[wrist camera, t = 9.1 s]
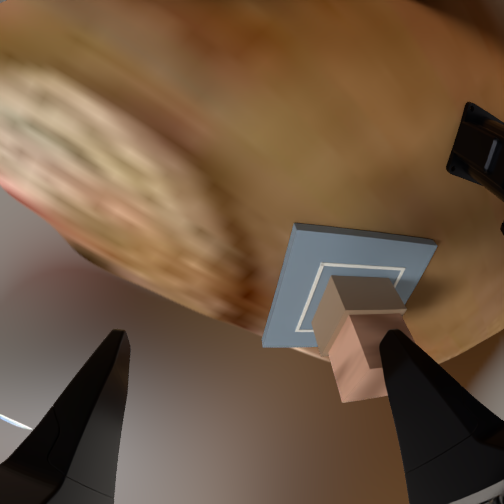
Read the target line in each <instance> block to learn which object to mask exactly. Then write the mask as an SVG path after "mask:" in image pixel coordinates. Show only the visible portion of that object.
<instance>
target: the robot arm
mask: <svg viewBox="0 0 504 504" xmlns="http://www.w3.org/2000/svg"><path fill="white" fill-rule="evenodd" d="M470 107H471V109H470ZM452 166H453V167H452ZM451 168H452V169H451ZM446 170H447V171H448V172H449V173H450V174H452V175H455V176H458V177H461V178H463V179H466V180H469V181H471V182H474V183H477V184H479V185H482V186H484V187H485V188H487V189H488V190H489V191H490V192H492V193H493V194H494V195H496V196H497V197H498V198H499V199H500V200H502V201H503V202H504V123H503V122H502V121H500V120H499V119H497V118H496V117H494V116H493V115H491V114H490V113H488V112H487V111H485V110H483V109H482V108H480V107H479V106H477V105H475V104H474V103H471V102H467V103H466V105H465V108H464V112H463V115H462V119H461V122H460V126H459V129H458V132H457V136H456V139H455V142H454V145H453V148H452V151H451V154H450V157H449V160H448V163H447V166H446ZM500 230H501V231H502V233H503V235H504V222H503V223H502V225H501V229H500ZM379 351H380V357H381V363H382V369H383V375H384V381H385V386H386V390H387V394H388V397H389V402H390V406H391V409H392V414H393V418H394V422H395V427H396V431H397V435H398V440H399V445H400V450H401V455H402V460H403V466H404V471H405V478H406V484H407V490H408V497H409V504H504V421H503V420H501V419H500V418H499V417H498V416H496V415H495V414H494V413H492V412H491V411H490V410H489V409H488V408H486V407H485V406H484V405H483V404H481V403H480V402H479V401H478V400H477V399H475V398H474V397H473V396H472V395H471V394H470V393H469V392H468V391H467V390H466V389H465V388H464V387H462V386H461V385H460V384H459V383H458V382H457V381H456V380H455V379H454V378H453V377H451V375H450V374H448V373H447V372H446V371H445V370H444V369H443V368H442V367H441V366H440V365H439V364H438V363H437V362H435V361H434V360H433V359H432V358H431V357H430V356H429V355H428V354H427V353H426V352H424V351H423V350H422V349H421V348H420V347H419V346H418V345H417V344H415V343H414V342H413V341H412V340H411V339H410V338H409V337H408V336H407V335H405V334H404V333H403V332H402V331H401V330H399V329H390V330H388V331H387V333H386V334H385V336H384V337H383V339H382V340H381V342H380V344H379ZM130 352H131V349H130V343H129V340H128V336H127V333H126V331H125V330H121V329H113V330H112V331H111V332H110V333H109V334H108V336H107V337H106V338H105V339H104V340H103V342H102V343H101V344H100V345H99V347H98V348H97V349H96V350H95V352H94V353H93V354H92V355H91V357H90V358H89V359H88V360H87V362H86V363H85V364H84V366H83V367H82V368H81V369H80V370H79V372H78V373H77V374H76V375H75V377H74V378H73V379H72V381H71V382H70V383H69V385H68V386H67V387H66V389H65V390H64V391H63V393H62V394H61V395H60V396H59V398H58V399H57V400H56V402H55V403H54V405H53V406H52V407H51V408H50V410H49V411H48V412H47V414H46V415H45V416H44V418H43V419H42V420H41V422H40V423H39V424H38V425H37V426H36V428H35V429H34V430H33V431H32V432H31V434H30V435H29V436H28V437H27V438H26V439H25V440H24V441H23V442H22V443H21V444H20V445H19V447H18V448H17V449H16V450H15V451H14V452H13V453H12V454H11V455H10V456H9V458H8V459H6V460H5V461H4V462H2V463H1V464H0V504H114V492H115V481H116V471H117V461H118V453H119V445H120V438H121V431H122V424H123V418H124V411H125V405H126V399H127V392H128V378H129V363H130Z"/></svg>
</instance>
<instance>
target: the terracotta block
mask: <svg viewBox="0 0 504 504" xmlns="http://www.w3.org/2000/svg"><path fill="white" fill-rule="evenodd" d="M390 329H399V330H401V331H402V332H403V333H404V334H405V335H407V336H408V337H409V338H410V339H411V340H412V341H413V342H414V343H415V341H414V339H413V337H412V335H411V333H410V331H409V330H408V328H407V326H406V324H405V322H404V320H403V318H402V316H401V314H400V313H395V314H363V315H349V316H348V318H347V320H346V321H345V323H344V325H343V327H342V329H341V331H340V333H339V335H338V336H337V338H336V340H335V342H334V344H333V345H332V347H331V349H330V351H329V352H328V354H329V358H330V361H331V364H332V368H333V372H334V375H335V378H336V382H337V386H338V389H339V392H340V396H341V400H342V402H350V401H358V400H364V399H370V398H376V397H381V396H387V395H388V394H387V390H386V386H385V381H384V375H383V369H382V363H381V357H380V351H379V344H380V342H381V340H382V339H383V337H384V336H385V334H386V333H387V331H388V330H390ZM415 344H416V343H415Z"/></svg>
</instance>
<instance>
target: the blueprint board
mask: <svg viewBox="0 0 504 504" xmlns="http://www.w3.org/2000/svg"><path fill="white" fill-rule="evenodd" d="M436 248H437V245H436V243H435V242H434V241H433V240H432V239H424V238H417V237H410V236H403V235H395V234H387V233H379V232H371V231H363V230H355V229H346V228H338V227H329V226H319V225H310V224H301V223H294V225H293V229H292V232H291V236H290V240H289V244H288V248H287V251H286V255H285V259H284V263H283V266H282V270H281V274H280V277H279V281H278V285H277V288H276V292H275V295H274V299H273V303H272V306H271V310H270V313H269V317H268V320H267V324H266V327H265V330H264V334H263V337H262V344H263V347H318V349H319V352H320V356H321V357H322V356H329V354H328V352H329V351H330V349H331V347H332V345H333V344H334V342H335V340H336V338H337V336H338V335H339V333H340V331H341V329H342V327H343V325H344V323H345V321H346V320H347V318H348V316H349V315H363V314H395V313H400V314H401V316H403V314H404V313H405V311H406V310H407V308H406V307H405V303H406V302H407V300H408V298H409V297H410V295H411V293H412V292H413V290H414V288H415V287H416V285H417V283H418V281H419V280H420V278H421V276H422V274H423V272H424V271H425V269H426V267H427V265H428V263H429V261H430V259H431V258H432V256H433V254H434V252H435V250H436Z"/></svg>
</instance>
